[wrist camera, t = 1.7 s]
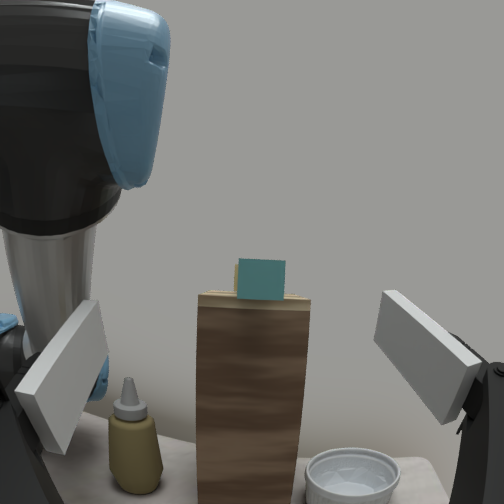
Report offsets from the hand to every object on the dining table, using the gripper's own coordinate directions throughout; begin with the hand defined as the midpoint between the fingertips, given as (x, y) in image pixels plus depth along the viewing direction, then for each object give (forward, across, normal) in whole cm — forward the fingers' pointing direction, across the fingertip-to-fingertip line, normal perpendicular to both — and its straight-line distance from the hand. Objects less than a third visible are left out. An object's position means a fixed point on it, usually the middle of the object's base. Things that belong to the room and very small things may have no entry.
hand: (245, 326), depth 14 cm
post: (+14, +1, -37) cm, 40 cm away
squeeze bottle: (+14, -15, -36) cm, 41 cm away
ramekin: (+8, +15, -36) cm, 40 cm away
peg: (+20, +3, -7) cm, 22 cm away
